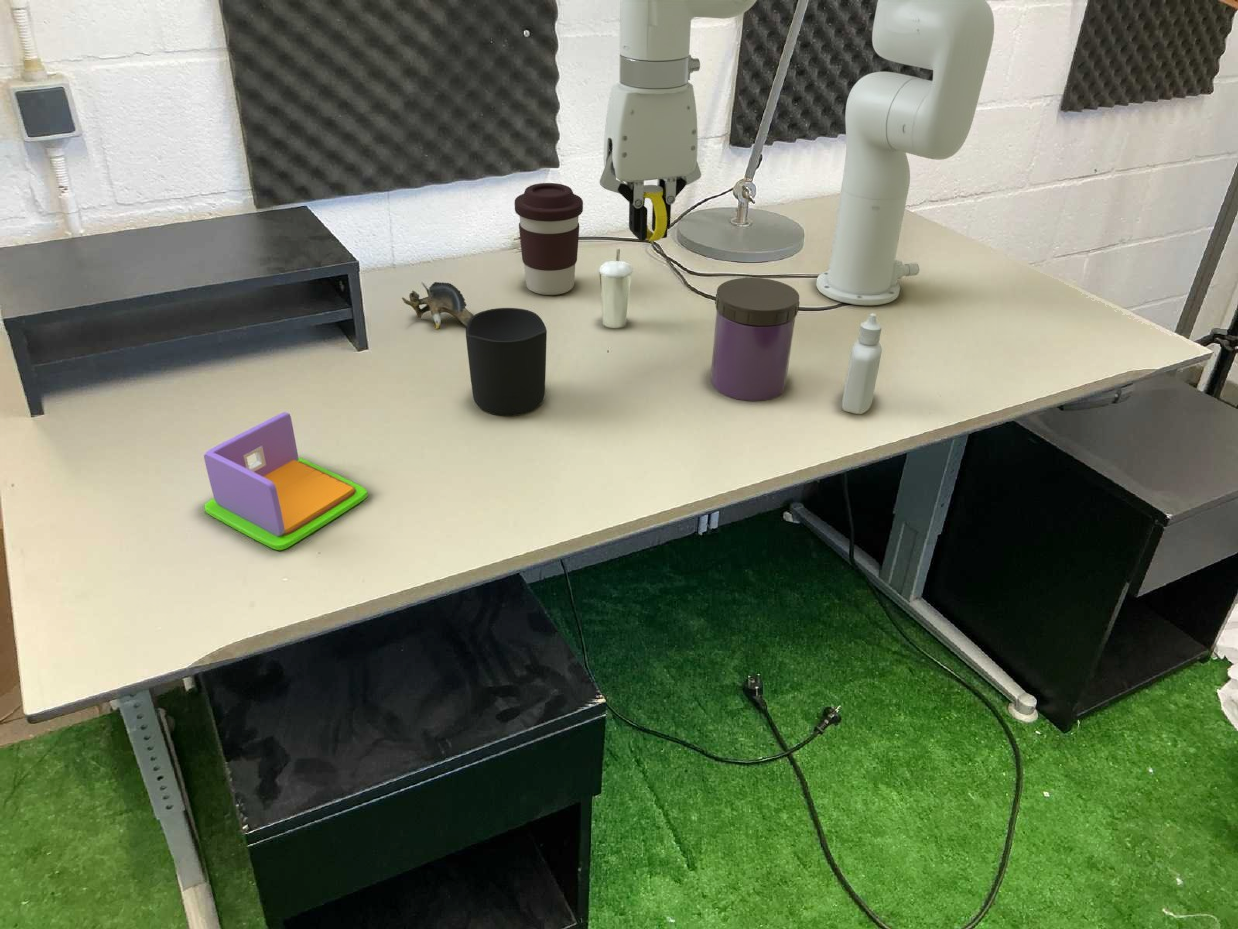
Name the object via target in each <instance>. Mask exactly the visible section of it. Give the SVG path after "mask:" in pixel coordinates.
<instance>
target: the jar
mask: <svg viewBox="0 0 1238 929" xmlns="http://www.w3.org/2000/svg"><path fill="white" fill-rule="evenodd" d="M795 323H796V317H795V318H794V319H792V320H791V321H789V322H786V323H783V324H778V325H771V326H757V325H748V324H743V323H738V322H735V321H732V320H730V319H728V318H725V317H724V316H722V315H721V314H720V313H719V312H718V311H717V310H715V324H714V335H713V346H712V354H711V355H712V357H711V368H710V377H709V378H710V380H709V381H710V384H711V386H712V387H713V388H714V389H715V390H716V391H717V392H718V393H720V394H721V395H723V396H726V397H729V398H731V399H735V400H739V401H740V400H741V401H748V402H759V401H760V402H761V401H767V400H772V399H774V398H777V397H779V396H781V395H782V394H783V393H784V392H785V391H786V388H787V382H788V374H789V366H790V361H791V360H790V359H791V351H792V347H793V346H792V345H793V338H794V331H795Z"/></svg>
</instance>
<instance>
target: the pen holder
mask: <svg viewBox="0 0 1238 929" xmlns="http://www.w3.org/2000/svg"><path fill="white" fill-rule="evenodd" d="M473 315H474V316H472V318H471V319H470V320H469V322H468V324H467V326H465V341H466V349H467V350H466V351H467V359H468V368H469V377H470V386H471V392H472V398H473V402H474V403H475V405H476V406H477V407H478V408H479V409H480V410H482V411H483V412H486V413H488V414H491V415H495V416H502V417H503V416H505V417H511V416H520V415H525V414H528V413H530V412H532V411H534V410H536V409H537V408H538V407H540V405H541V404H542V403H543V402H544V400H545V394H546V376H547V374H546V373H547V372H546V369H547V336H548V332H547V327H546V325H545V323H544V321H543V319H542V318H541V317H540V315H538V314H537V313H535V312H534V311H532V310H530V309H524V308H518V307H499V308H498V307H497V308H491V309H487V310H483V311H479V312H477V313H475V314H473Z"/></svg>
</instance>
